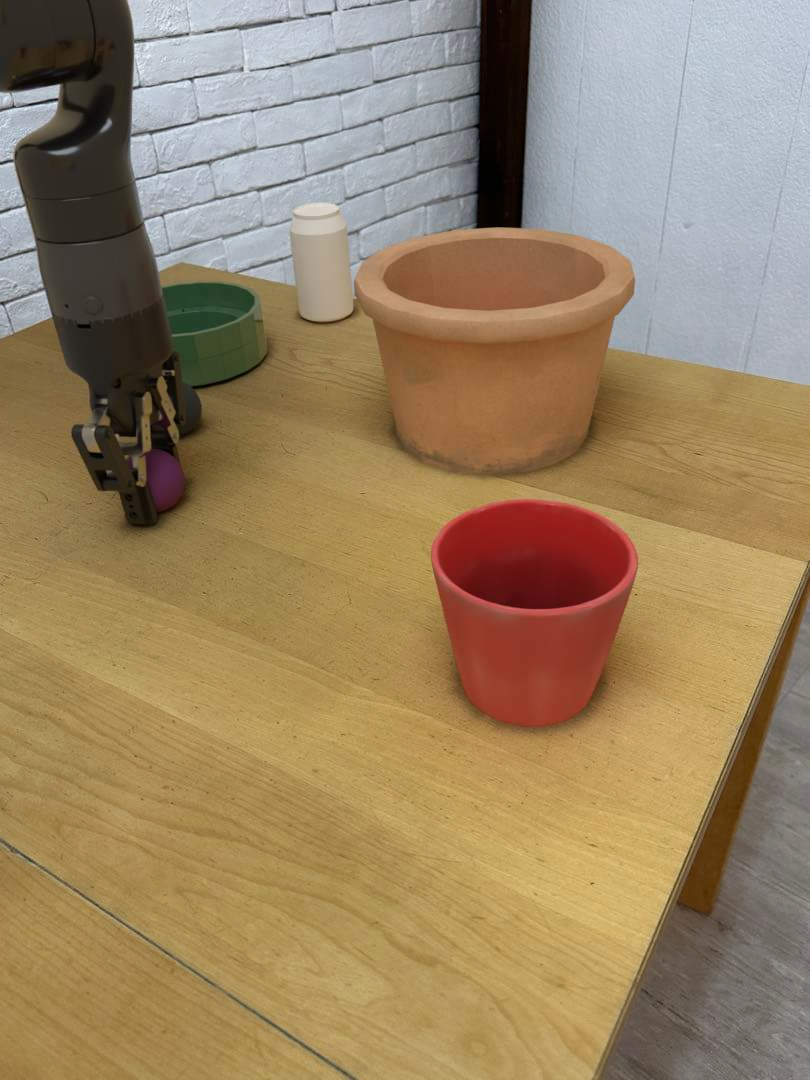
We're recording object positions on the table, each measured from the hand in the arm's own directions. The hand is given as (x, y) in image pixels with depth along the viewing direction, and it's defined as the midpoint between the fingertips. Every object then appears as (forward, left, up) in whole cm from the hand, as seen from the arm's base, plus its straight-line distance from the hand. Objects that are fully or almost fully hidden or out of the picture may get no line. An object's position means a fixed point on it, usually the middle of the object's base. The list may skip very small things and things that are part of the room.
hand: (157, 503), depth 71 cm
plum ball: (0, 0, 0) cm, 0 cm away
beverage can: (+4, +40, -1) cm, 40 cm away
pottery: (+25, +15, -1) cm, 29 cm away
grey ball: (-3, +12, 0) cm, 12 cm away
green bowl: (-7, +27, 0) cm, 28 cm away
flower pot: (+30, -16, -1) cm, 34 cm away
